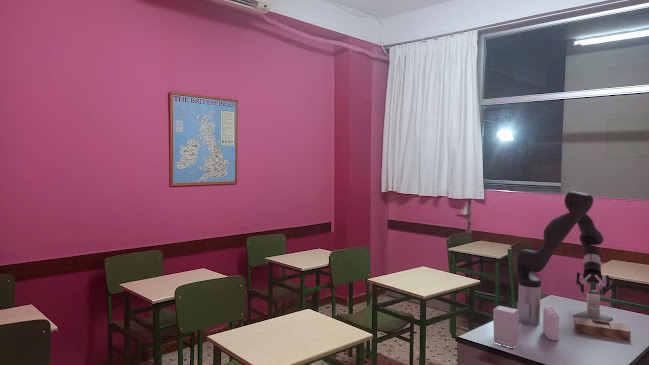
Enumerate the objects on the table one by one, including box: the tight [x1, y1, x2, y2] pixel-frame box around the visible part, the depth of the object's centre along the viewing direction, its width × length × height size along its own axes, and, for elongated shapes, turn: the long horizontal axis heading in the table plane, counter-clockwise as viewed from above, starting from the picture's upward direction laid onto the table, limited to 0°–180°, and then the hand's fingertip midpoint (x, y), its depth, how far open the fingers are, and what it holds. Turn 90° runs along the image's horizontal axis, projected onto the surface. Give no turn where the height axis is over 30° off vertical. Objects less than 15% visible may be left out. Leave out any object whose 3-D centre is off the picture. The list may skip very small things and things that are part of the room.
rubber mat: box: [572, 310, 614, 322], centre depth 213 cm, size 12×12×1 cm
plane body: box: [573, 317, 632, 342], centre depth 195 cm, size 20×9×4 cm, turn 64°
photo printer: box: [542, 305, 560, 341], centre depth 191 cm, size 10×4×12 cm, turn 169°
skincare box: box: [492, 305, 520, 348], centre depth 182 cm, size 8×6×15 cm
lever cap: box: [585, 289, 601, 319], centre depth 213 cm, size 5×6×12 cm
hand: (593, 293), depth 219 cm, fingers open, 8 cm apart
